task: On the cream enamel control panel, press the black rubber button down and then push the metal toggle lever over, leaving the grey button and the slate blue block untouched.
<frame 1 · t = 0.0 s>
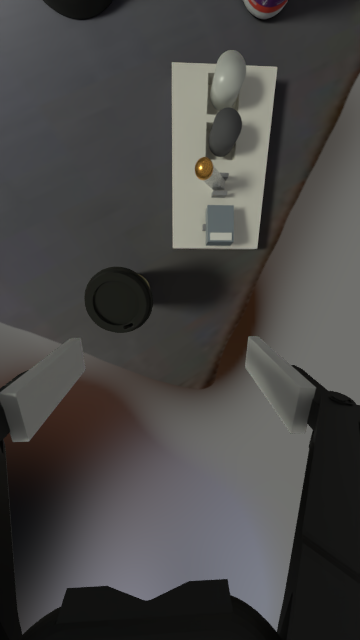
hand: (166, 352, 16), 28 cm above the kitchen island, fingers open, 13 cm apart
slate blue block: (219, 225, 34), point 5 cm above the kitchen island, hinge at -15.0°
button black: (224, 134, 30), point 5 cm above the kitchen island, slide at 0.0 cm
panel: (215, 174, 36), on the kitchen island
button grey: (227, 83, 29), point 5 cm above the kitchen island, slide at 0.0 cm
coffee cup: (135, 288, 42), on the kitchen island
lever: (211, 176, 30), point 7 cm above the kitchen island, hinge at 30.0°
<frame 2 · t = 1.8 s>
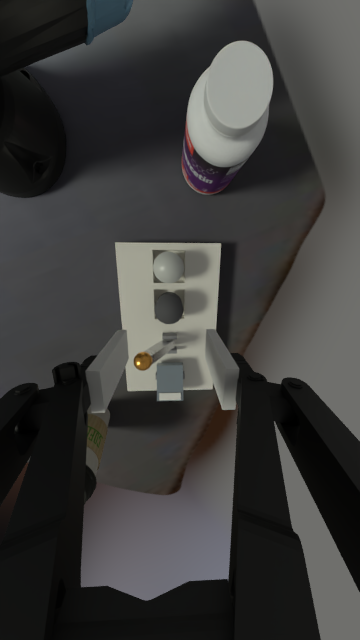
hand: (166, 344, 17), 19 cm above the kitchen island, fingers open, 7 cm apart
slate blue block: (170, 381, 34), point 5 cm above the kitchen island, hinge at -15.0°
pill bottle: (207, 167, 30), on the kitchen island
button black: (169, 307, 31), point 5 cm above the kitchen island, slide at 0.0 cm
panel: (169, 319, 36), on the kitchen island
button grey: (168, 267, 29), point 5 cm above the kitchen island, slide at 0.0 cm
coffee cup: (95, 414, 42), on the kitchen island
lever: (155, 352, 30), point 7 cm above the kitchen island, hinge at 30.0°
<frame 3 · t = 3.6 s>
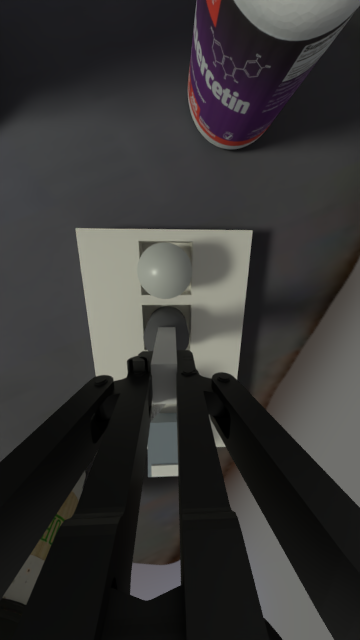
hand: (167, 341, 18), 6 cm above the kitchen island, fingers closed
slate blue block: (168, 444, 22), point 5 cm above the kitchen island, hinge at -15.0°
pill bottle: (230, 103, 18), on the kitchen island
button black: (166, 330, 20), point 4 cm above the kitchen island, slide at -1.2 cm, touching gripper
panel: (168, 346, 25), on the kitchen island
button grey: (165, 270, 17), point 5 cm above the kitchen island, slide at 0.0 cm
coffee cup: (65, 472, 30), on the kitchen island
lever: (143, 410, 18), point 7 cm above the kitchen island, hinge at 30.0°
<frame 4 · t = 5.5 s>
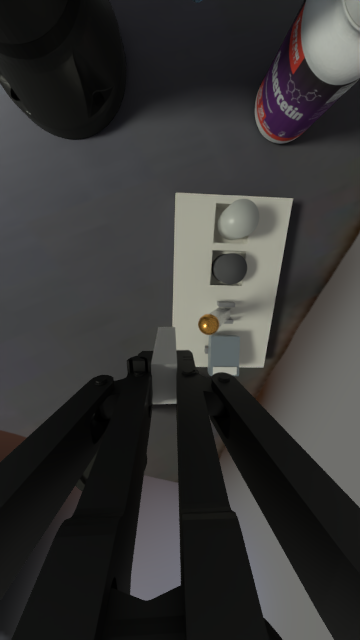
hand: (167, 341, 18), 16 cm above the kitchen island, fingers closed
slate blue block: (223, 355, 31), point 5 cm above the kitchen island, hinge at -15.0°
pill bottle: (280, 112, 27), on the kitchen island
button black: (228, 268, 29), point 3 cm above the kitchen island, slide at -1.8 cm
panel: (220, 289, 33), on the kitchen island
button grey: (236, 221, 26), point 5 cm above the kitchen island, slide at 0.0 cm
lever: (216, 318, 27), point 7 cm above the kitchen island, hinge at 30.0°
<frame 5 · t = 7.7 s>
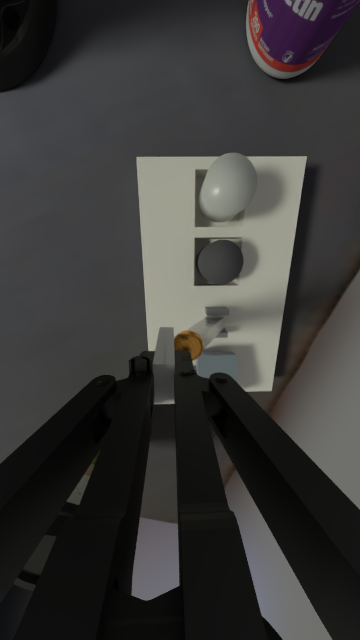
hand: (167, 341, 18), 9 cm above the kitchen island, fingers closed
slate blue block: (216, 379, 23), point 5 cm above the kitchen island, hinge at -15.0°
pill bottle: (284, 32, 18), on the kitchen island
button black: (217, 262, 21), point 3 cm above the kitchen island, slide at -1.8 cm
panel: (211, 290, 25), on the kitchen island
button grey: (225, 192, 18), point 5 cm above the kitchen island, slide at 0.0 cm
coffee cup: (105, 423, 31), on the kitchen island
lever: (201, 333, 19), point 7 cm above the kitchen island, hinge at 29.1°, touching gripper
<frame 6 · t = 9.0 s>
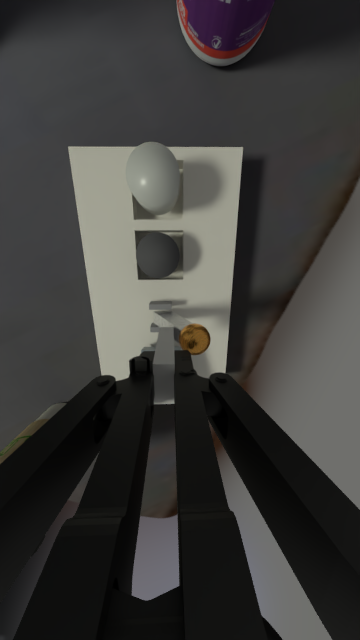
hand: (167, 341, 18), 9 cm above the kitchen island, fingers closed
slate blue block: (162, 374, 23), point 5 cm above the kitchen island, hinge at -15.0°
pill bottle: (221, 16, 18), on the kitchen island
button black: (159, 255, 21), point 3 cm above the kitchen island, slide at -1.8 cm
panel: (162, 285, 25), on the kitchen island
button grey: (155, 183, 17), point 5 cm above the kitchen island, slide at 0.0 cm
coffee cup: (66, 417, 31), on the kitchen island
lever: (178, 327, 19), point 8 cm above the kitchen island, hinge at -26.2°, touching gripper
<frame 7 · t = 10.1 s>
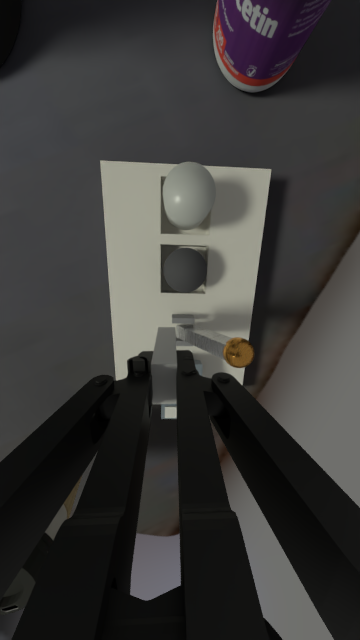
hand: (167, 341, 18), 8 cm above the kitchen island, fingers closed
slate blue block: (181, 388, 22), point 5 cm above the kitchen island, hinge at -15.0°
pill bottle: (252, 47, 19), on the kitchen island
button black: (184, 270, 21), point 3 cm above the kitchen island, slide at -1.8 cm
panel: (181, 297, 25), on the kitchen island
button grey: (187, 200, 17), point 5 cm above the kitchen island, slide at 0.0 cm
coffee cup: (73, 430, 30), on the kitchen island
lever: (211, 341, 19), point 7 cm above the kitchen island, hinge at -38.0°
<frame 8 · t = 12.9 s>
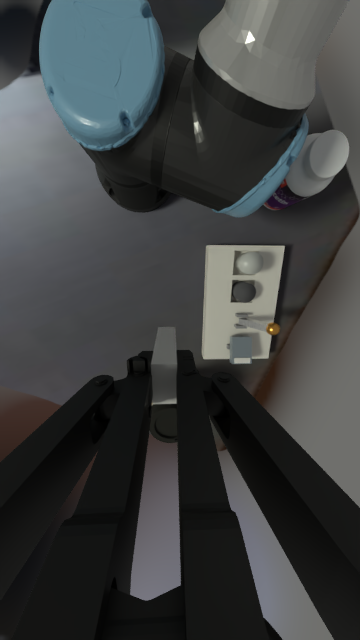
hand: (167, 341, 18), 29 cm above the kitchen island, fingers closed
slate blue block: (240, 349, 45), point 5 cm above the kitchen island, hinge at -15.0°
pill bottle: (275, 190, 41), on the kitchen island
button black: (242, 291, 43), point 3 cm above the kitchen island, slide at -1.8 cm
panel: (236, 304, 47), on the kitchen island
button grey: (248, 263, 40), point 5 cm above the kitchen island, slide at 0.0 cm
coffee cup: (171, 380, 53), on the kitchen island
lever: (258, 325, 42), point 7 cm above the kitchen island, hinge at -38.1°
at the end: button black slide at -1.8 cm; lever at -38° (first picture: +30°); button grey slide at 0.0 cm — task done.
